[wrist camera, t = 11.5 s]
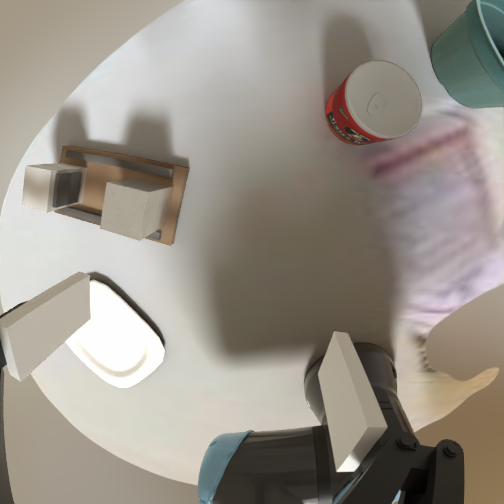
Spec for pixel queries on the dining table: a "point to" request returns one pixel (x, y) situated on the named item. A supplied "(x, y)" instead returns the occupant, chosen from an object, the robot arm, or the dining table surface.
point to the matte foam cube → (135, 207)
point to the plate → (116, 340)
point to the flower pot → (473, 56)
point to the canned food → (374, 104)
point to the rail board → (98, 185)
